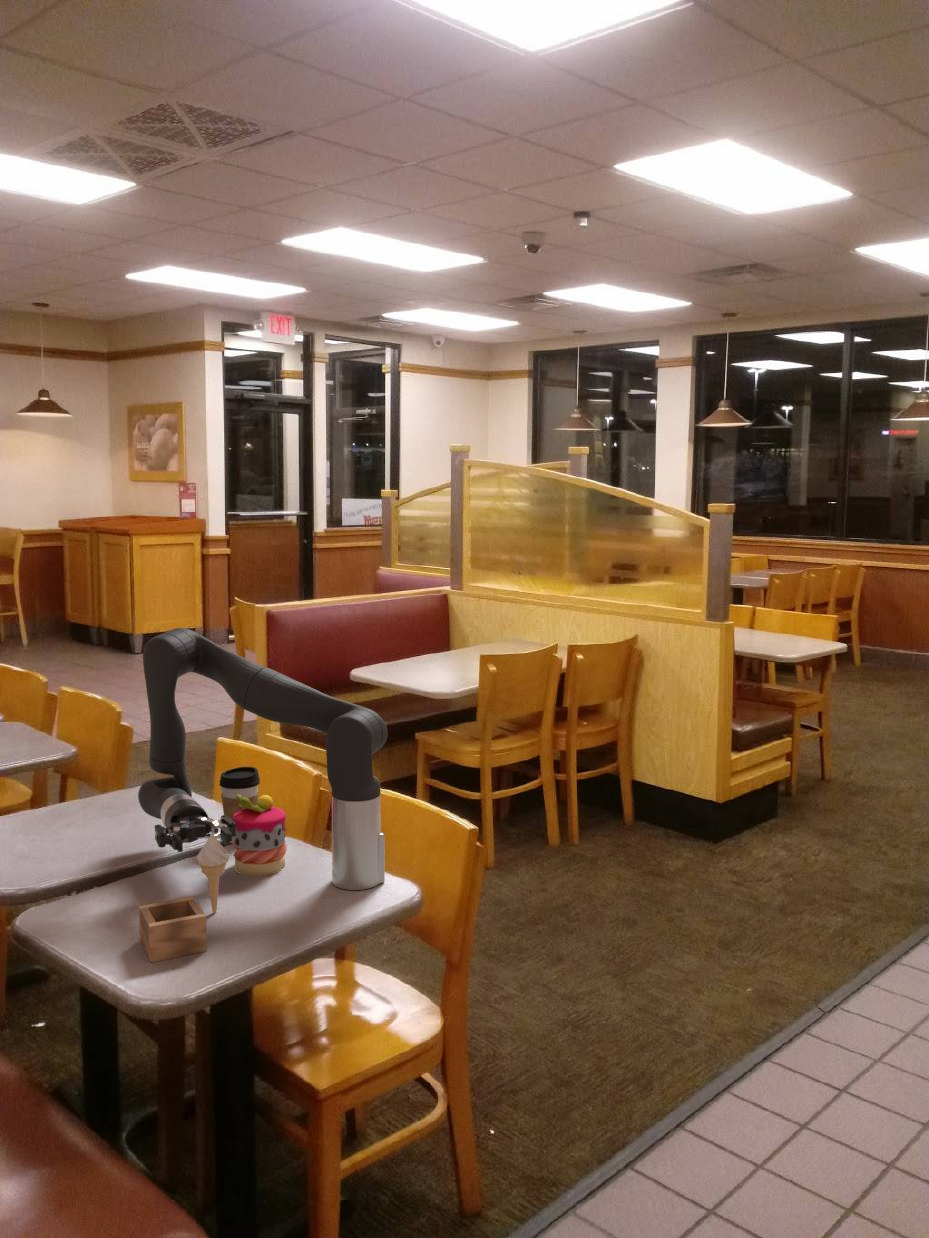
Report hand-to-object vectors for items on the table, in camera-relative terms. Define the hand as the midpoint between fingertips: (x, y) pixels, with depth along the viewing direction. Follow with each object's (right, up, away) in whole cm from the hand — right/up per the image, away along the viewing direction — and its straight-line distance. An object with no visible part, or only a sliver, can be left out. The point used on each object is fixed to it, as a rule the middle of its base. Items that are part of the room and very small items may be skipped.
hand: (204, 842), depth 188 cm
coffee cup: (-1, -7, +34) cm, 35 cm away
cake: (+6, -9, +19) cm, 22 cm away
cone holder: (-1, -13, -17) cm, 21 cm away
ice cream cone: (+3, -12, -4) cm, 13 cm away
